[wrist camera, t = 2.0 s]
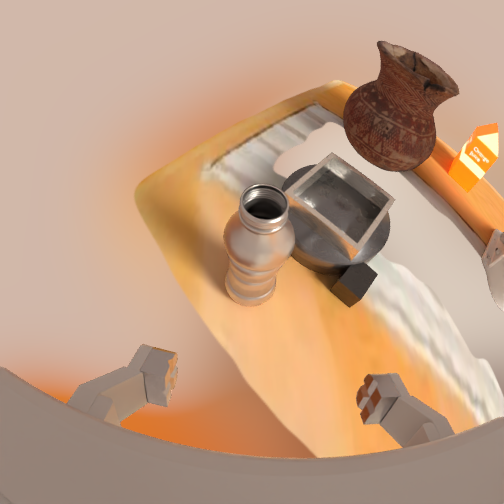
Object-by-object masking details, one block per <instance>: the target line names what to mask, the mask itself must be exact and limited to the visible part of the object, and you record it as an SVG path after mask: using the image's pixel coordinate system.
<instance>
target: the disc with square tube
mask: <svg viewBox="0 0 504 504" xmlns="http://www.w3.org/2000/svg"><path fill="white" fill-rule="evenodd" d="M282 191H283V192H284V193H285V194H286V196H287V198H288V200H289V210H288V219H289V220H290V222H291V224H292V226H293V229H294V234H295V246H294V249H293V251H292V253H291V256H292V257H293V258H294V259H295V260H296V261H298V262H299V263H300V264H302V265H303V266H305V267H307V268H308V269H310V270H313V271H315V272H318V273H321V274H325V275H332V276H340V275H341V276H340V278H339V279H338V280H337V281H336V283H335V284H334V285H333V287H332V288H331V289H330V291H331V292H332V293H333V294H334V295H336V296H337V297H338V298H339V299H340V300H341V301H343V302H344V303H345V304H346V305H347V306H348V307H349V308H350V307H351V306H352V305H354V304H355V303H357V302H358V301H360V300H361V299H362V297H363V296H364V294H365V293H366V291H367V290H368V288H369V287H370V285H371V284H372V282H373V281H374V279H375V278H376V276H377V275H378V274H377V273H376V272H375V271H374V270H372V269H371V268H370V267H369V266H368V265H367V263H368V262H369V261H370V260H371V259H372V258H373V257H374V256H375V255H376V254H377V253H378V252H379V251H380V250H381V249H382V248H383V246H384V245H385V243H386V241H387V239H388V236H389V232H390V218H389V213H388V210H389V208H390V207H391V205H392V204H393V202H394V201H395V199H394V198H393V197H392V196H390V195H389V194H388V193H387V192H386V191H384V190H383V189H382V188H380V187H379V186H378V185H377V184H375V183H374V182H373V181H371V180H370V179H369V178H367V177H366V176H365V175H363V174H362V173H361V172H359V171H358V170H357V169H355V168H354V167H352V166H351V165H349V164H348V163H347V162H345V161H344V160H342V159H341V158H340V157H338V156H337V155H335V154H334V153H331V154H329V155H328V156H327V157H326V158H324V159H323V160H322V161H321V162H320V163H318V164H317V165H310V166H306V167H303V168H301V169H299V170H297V171H295V172H294V173H293V174H292V175H291V176H289V177H288V179H287V180H286V181H285V183H284V185H283V187H282Z"/></svg>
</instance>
